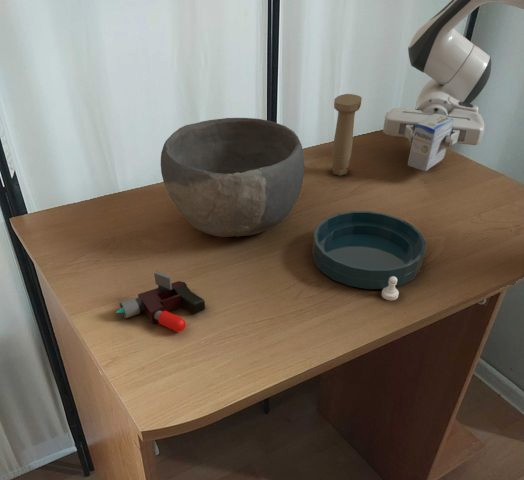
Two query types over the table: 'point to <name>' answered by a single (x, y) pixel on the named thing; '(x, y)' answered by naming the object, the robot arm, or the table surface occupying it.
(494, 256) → the table surface
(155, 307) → the toy gun
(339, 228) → the teal bowl
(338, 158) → the handle
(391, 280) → the chess pawn
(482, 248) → the table surface
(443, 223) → the table surface
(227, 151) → the bowl
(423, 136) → the medicine box
